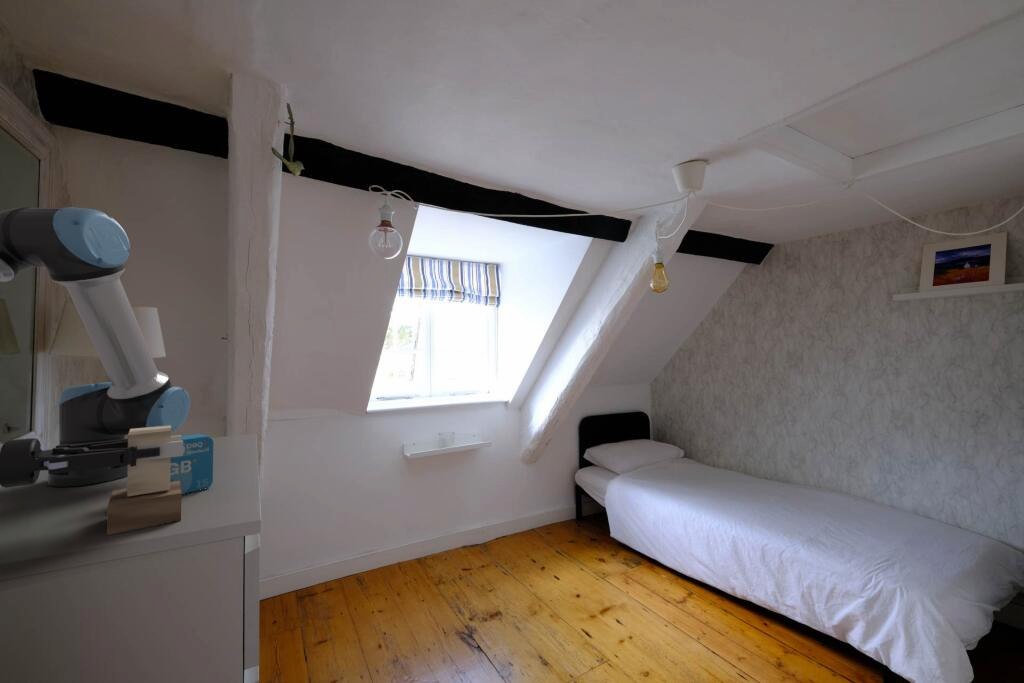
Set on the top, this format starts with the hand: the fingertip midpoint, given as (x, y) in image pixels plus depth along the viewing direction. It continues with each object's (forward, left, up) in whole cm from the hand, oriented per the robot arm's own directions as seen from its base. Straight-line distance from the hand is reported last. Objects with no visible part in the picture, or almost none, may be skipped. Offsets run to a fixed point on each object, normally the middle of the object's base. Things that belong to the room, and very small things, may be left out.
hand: (181, 445), depth 84 cm
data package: (-15, 0, -13) cm, 20 cm away
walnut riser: (0, -5, -13) cm, 14 cm away
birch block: (0, -5, -7) cm, 9 cm away
